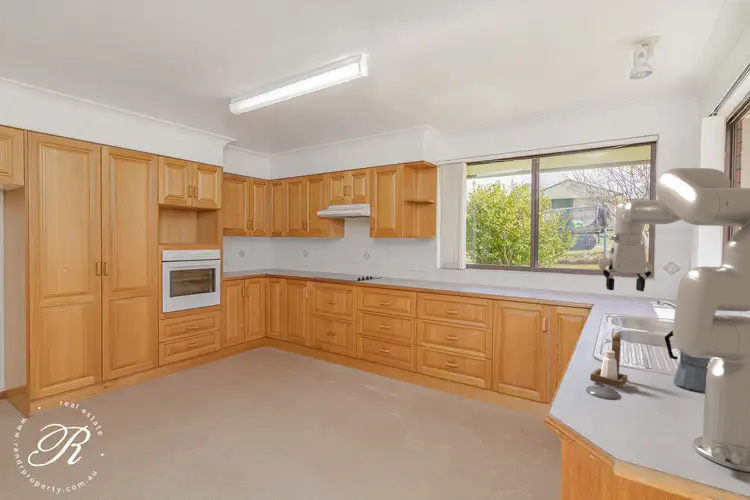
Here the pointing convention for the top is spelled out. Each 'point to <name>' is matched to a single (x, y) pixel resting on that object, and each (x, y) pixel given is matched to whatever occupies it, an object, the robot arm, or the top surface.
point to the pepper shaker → (609, 366)
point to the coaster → (602, 392)
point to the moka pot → (689, 369)
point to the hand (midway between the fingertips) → (624, 290)
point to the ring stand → (621, 377)
